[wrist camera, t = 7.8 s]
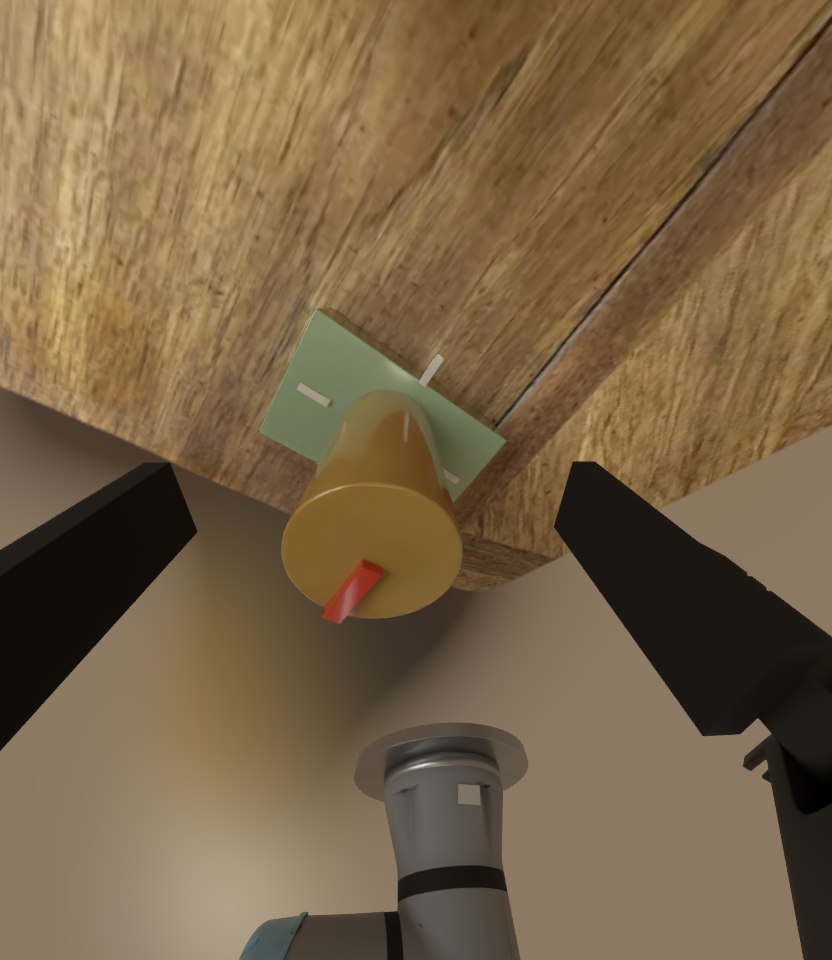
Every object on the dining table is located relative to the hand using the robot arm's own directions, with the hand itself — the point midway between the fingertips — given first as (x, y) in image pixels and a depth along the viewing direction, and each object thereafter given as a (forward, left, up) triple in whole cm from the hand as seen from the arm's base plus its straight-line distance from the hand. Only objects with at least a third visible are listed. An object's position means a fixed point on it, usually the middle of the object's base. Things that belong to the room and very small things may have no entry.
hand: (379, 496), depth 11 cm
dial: (0, 0, -5) cm, 5 cm away
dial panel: (0, 0, -8) cm, 8 cm away
